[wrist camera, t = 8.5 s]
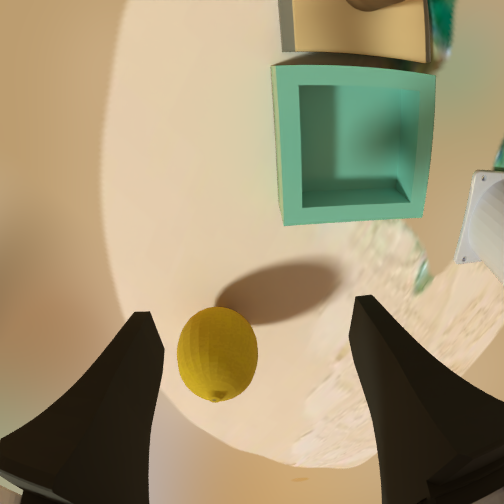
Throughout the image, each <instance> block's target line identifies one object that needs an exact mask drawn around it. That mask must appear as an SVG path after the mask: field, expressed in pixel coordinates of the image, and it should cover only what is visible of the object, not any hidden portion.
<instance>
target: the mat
mask: <svg viewBox="0 0 504 504" xmlns="http://www.w3.org/2000/svg"><path fill="white" fill-rule="evenodd" d="M278 7H279V18H280V30H281V42H282V52H295V37H294V20H293V6H292V0H278ZM423 7H424V22H425V52H426V62H431V50H430V28H429V14H428V3H427V0H423Z"/></svg>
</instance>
